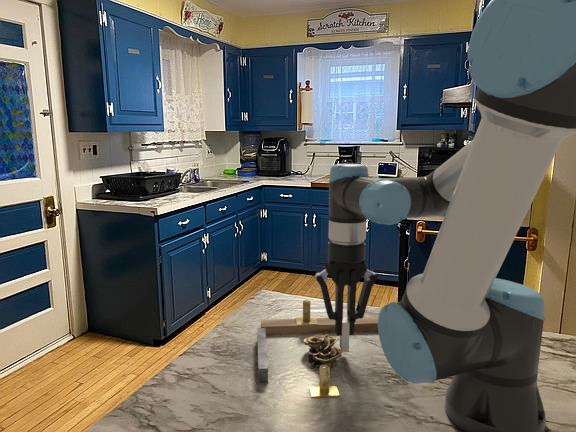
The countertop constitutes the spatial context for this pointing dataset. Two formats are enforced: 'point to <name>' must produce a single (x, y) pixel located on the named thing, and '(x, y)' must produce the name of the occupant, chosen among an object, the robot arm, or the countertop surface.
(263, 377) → the end stop
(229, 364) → the countertop surface
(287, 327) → the beam plank
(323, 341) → the mushroom
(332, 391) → the near post
